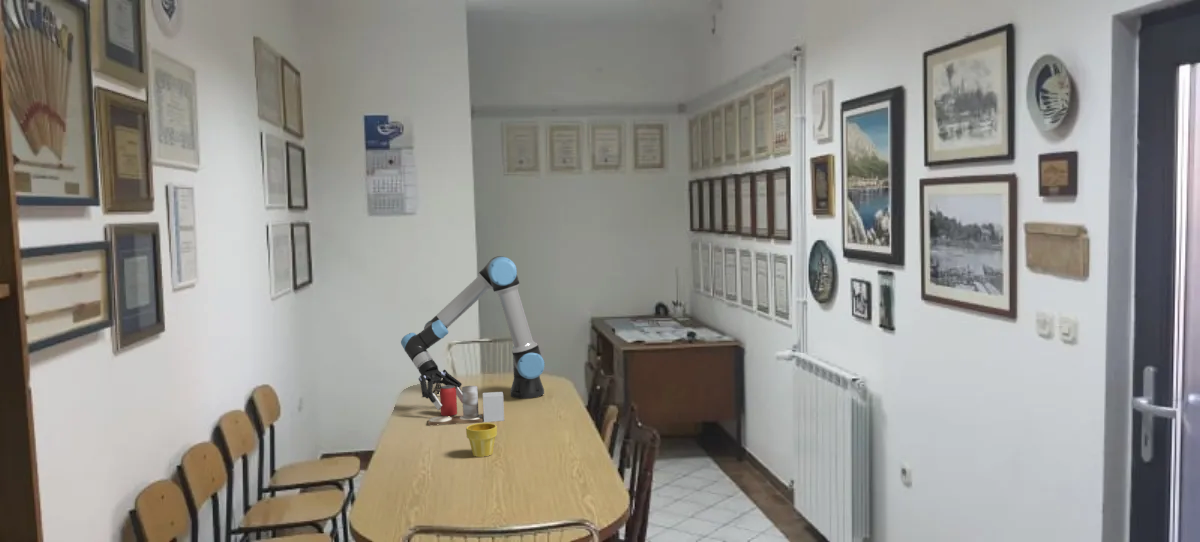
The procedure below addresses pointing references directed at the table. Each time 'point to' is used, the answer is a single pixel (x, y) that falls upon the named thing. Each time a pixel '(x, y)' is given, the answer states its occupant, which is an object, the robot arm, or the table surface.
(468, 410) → the board
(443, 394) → the beer can
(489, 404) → the white upright block
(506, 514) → the table surface
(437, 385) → the eiffel tower figurine
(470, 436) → the plant pot
